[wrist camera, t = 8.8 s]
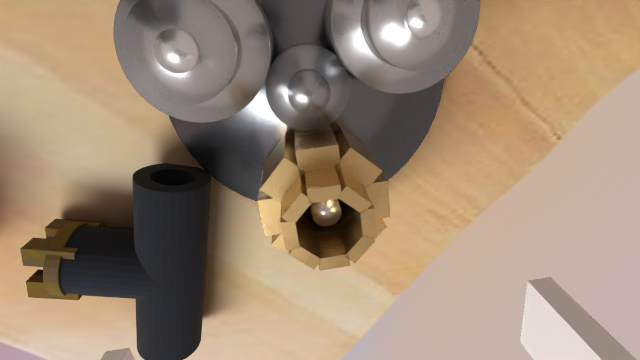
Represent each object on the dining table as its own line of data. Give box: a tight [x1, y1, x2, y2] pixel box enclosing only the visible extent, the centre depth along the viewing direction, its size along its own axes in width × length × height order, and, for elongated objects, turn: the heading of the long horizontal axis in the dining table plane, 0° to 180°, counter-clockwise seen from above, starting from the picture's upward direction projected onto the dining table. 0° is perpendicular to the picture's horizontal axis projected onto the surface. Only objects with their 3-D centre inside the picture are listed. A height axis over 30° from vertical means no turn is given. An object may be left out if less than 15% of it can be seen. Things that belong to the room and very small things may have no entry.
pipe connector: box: [21, 164, 211, 360], centre depth 27 cm, size 12×5×15 cm
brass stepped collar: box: [257, 125, 390, 270], centre depth 23 cm, size 8×8×8 cm
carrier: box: [114, 0, 480, 226], centre depth 21 cm, size 19×19×9 cm
